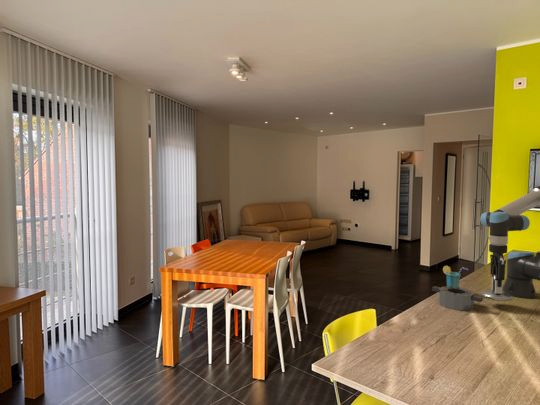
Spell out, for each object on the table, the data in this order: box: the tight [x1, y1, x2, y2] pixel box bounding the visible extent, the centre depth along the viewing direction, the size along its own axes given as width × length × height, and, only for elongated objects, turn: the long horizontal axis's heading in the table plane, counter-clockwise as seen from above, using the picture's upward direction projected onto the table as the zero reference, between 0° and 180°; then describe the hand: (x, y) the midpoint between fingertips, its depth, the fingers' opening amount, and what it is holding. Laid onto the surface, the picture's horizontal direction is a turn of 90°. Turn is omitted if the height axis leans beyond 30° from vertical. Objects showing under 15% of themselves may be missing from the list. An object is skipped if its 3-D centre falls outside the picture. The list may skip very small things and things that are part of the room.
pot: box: [431, 285, 484, 311], centre depth 180 cm, size 23×15×7 cm, turn 42°
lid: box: [480, 274, 514, 302], centre depth 178 cm, size 13×13×10 cm
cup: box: [442, 265, 470, 287], centre depth 199 cm, size 14×8×15 cm, turn 44°
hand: (496, 291), depth 178 cm, fingers closed on lid, 4 cm apart
